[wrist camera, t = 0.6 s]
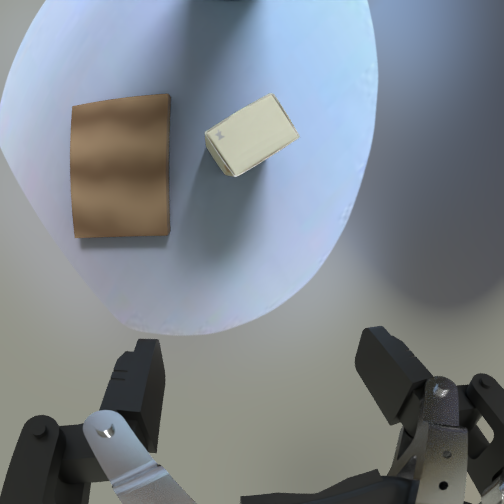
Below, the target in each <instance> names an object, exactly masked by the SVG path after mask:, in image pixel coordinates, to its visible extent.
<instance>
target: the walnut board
mask: <svg viewBox="0 0 504 504" xmlns="http://www.w3.org/2000/svg"><path fill="white" fill-rule="evenodd" d="M170 107H171V97H170V95H169V94H156V95H145V96H135V97H126V98H119V99H111V100H105V101H99V102H93V103H87V104H82V105H77V106H72V119H71V141H70V178H71V200H72V214H73V225H74V234H75V238H90V237H123V236H165V235H168V234H169V233H170V210H169V133H170Z"/></svg>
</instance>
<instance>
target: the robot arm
mask: <svg viewBox="0 0 504 504" xmlns="http://www.w3.org/2000/svg"><path fill="white" fill-rule="evenodd" d="M355 367H356V370H357V372H358V374H359V375H360V377H361V378H362V380H363V382H364V383H365V385H366V387H367V388H368V390H369V392H370V393H371V395H372V396H373V398H374V400H375V401H376V403H377V405H378V406H379V408H380V410H381V411H382V413H383V415H384V416H385V418H386V419H387V421H388V423H389V424H390V425H394V424H397V423H399V422H401V423H402V425H403V426H402V428H401V430H400V433H399V438H398V442H397V447H396V451H395V455H394V459H393V462H392V466H391V468H390V470H389V472H388V474H387V476H380V473H379V472H378V469H375V470H372V471H369V472H366V473H363V474H360V475H357V476H353V477H350V478H347V479H345V480H343V481H341V482H339V483H338V484H335V485H334V486H331V487H330V488H327V489H325V490H323V491H321V492H319V493H315V494H294V493H271V494H263V495H253V496H241V499H240V501H241V502H240V504H471V503H468V502H465V501H464V494H465V485H466V475H467V472H468V474H469V475H470V477H471V479H472V481H473V482H474V484H475V486H476V488H477V489H478V491H479V493H480V495H481V502H480V503H479V504H504V389H503V388H502V387H501V386H500V385H499V384H498V382H497V381H496V380H495V379H494V378H493V377H491V376H489V375H487V374H481V373H480V374H476V375H475V376H474V377H473V378H472V380H471V382H470V384H469V385H458V386H456V384H455V383H454V382H453V381H451V380H450V379H448V378H446V377H443V376H434V377H433V375H432V374H431V373H430V372H429V371H428V370H427V369H426V367H425V366H424V365H423V364H422V363H421V362H420V361H419V360H418V359H417V357H415V356H414V354H413V353H412V352H411V351H409V348H408V347H407V346H406V345H405V344H404V343H403V342H402V341H401V340H399V339H397V338H396V337H394V336H391V335H390V334H389V333H388V332H387V330H386V329H385V328H384V327H383V326H377V327H370V328H365V329H364V330H363V332H362V335H361V339H360V342H359V346H358V350H357V353H356V357H355ZM164 389H165V370H164V364H163V359H162V354H161V348H160V343H159V340H158V339H138V341H137V344H136V347H135V350H134V352H128V351H126V352H125V353H124V354H123V355H122V356H121V357H119V359H118V360H117V362H116V364H115V367H114V372H112V375H111V380H110V381H109V384H108V387H107V389H106V392H105V395H104V398H103V401H102V404H101V407H100V410H99V411H97V412H94V413H92V414H91V415H90V416H88V417H87V419H86V420H85V422H84V423H83V424H79V425H68V426H59V425H58V424H57V422H56V421H55V420H54V419H53V418H51V417H49V416H45V415H38V416H34V417H32V418H31V419H29V420H28V421H27V422H26V423H25V425H24V427H23V429H22V431H21V434H20V437H19V439H18V442H17V445H16V447H15V450H14V453H13V456H12V459H11V462H10V465H9V468H8V471H7V474H6V478H5V482H4V485H3V489H2V492H1V496H0V504H88V502H89V494H90V486H91V482H102V481H110V482H111V484H112V488H113V490H114V492H115V493H116V495H117V496H118V498H119V499H120V501H121V502H122V504H197V503H195V501H194V500H193V499H192V498H190V496H189V495H188V494H187V493H186V492H185V491H184V490H183V489H182V488H181V487H180V486H179V484H177V482H176V481H175V480H174V479H173V478H172V477H171V475H170V474H169V473H168V472H167V471H166V470H165V469H164V468H163V467H162V466H161V465H158V464H157V463H156V462H155V461H154V459H153V458H152V457H151V456H150V454H149V453H148V452H150V453H157V444H158V435H159V427H160V418H161V411H162V403H163V396H164ZM482 416H483V417H484V419H485V420H486V421H487V423H488V424H489V425H490V427H491V428H492V430H493V432H494V438H493V441H492V442H491V443H489V442H488V441H487V439H486V438H485V436H484V435H483V433H482V432H481V431H480V429H479V428H478V426H477V425H476V424H477V422H478V421H479V419H480V418H481V417H482Z"/></svg>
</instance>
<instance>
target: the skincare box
mask: <svg viewBox="0 0 504 504" xmlns="http://www.w3.org/2000/svg"><path fill="white" fill-rule="evenodd" d="M299 137H300V136H299V134H298V132H297V131H296V129H295V127H294V125H293V124H292V122H291V120H290V119H289V117H288V115H287V114H286V112H285V110H284V109H283V107H282V106H281V104H280V103H279V101H278V100H277V98H276V97H275V95H274V94H272V93H269V94H268V95H266V96H264V97H262V98H260V99H258V100H256V101H255V102H253V103H251V104H249V105H247V106H246V107H244V108H242V109H240V110H239V111H237V112H236V113H234V114H232V115H231V116H229V117H227V118H226V119H224V120H223V121H221V122H219V123H218V124H216V125H215V126H213V127H212V128H210V129H209V130H207V131H206V132H205V141H206V147H207V149H208V151H209V152H210V154H211V155H212V157H213V159H214V160H215V162H216V163H217V165H218V166H219V167H220V169H221V170H222V171H223V173H224V174H225V175H228V176H233V177H238V176H239V175H241V174H243V173H245V172H246V171H248V170H250V169H251V168H253V167H255V166H256V165H258V164H260V163H261V162H263V161H264V160H266V159H268V158H269V157H271V156H272V155H274V154H275V153H277V152H278V151H280V150H281V149H283V148H285V147H286V146H288V145H289V144H291V143H292V142H294V141H295V140H297V139H298V138H299Z"/></svg>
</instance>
